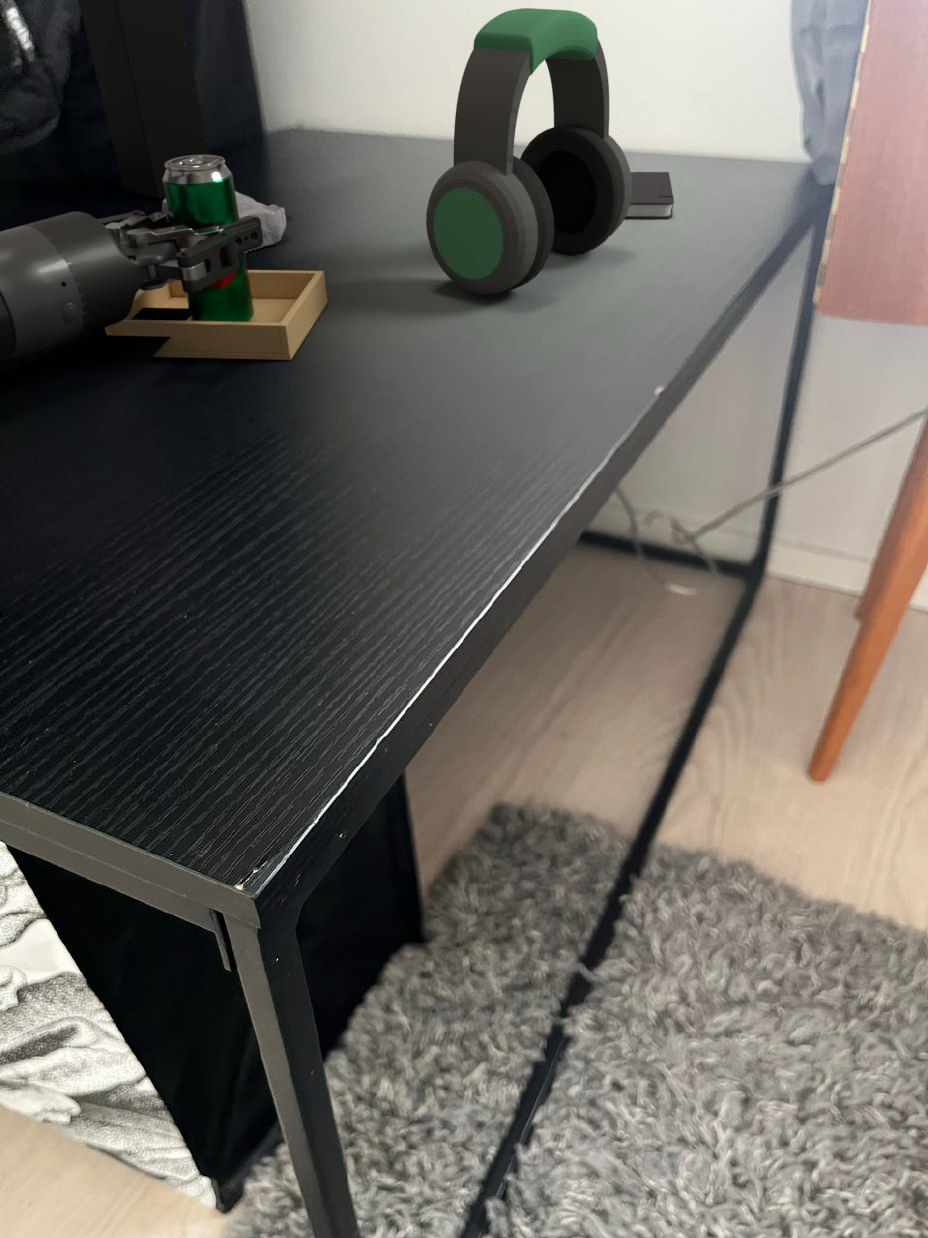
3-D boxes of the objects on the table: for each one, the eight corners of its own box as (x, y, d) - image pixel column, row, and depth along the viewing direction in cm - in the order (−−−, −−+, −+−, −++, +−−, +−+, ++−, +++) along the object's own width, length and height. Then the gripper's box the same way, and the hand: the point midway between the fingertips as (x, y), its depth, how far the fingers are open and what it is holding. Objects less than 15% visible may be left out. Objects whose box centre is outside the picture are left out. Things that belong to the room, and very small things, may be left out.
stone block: (241, 233, 102) (155, 233, 96) (242, 185, 100) (154, 183, 94) (302, 261, 96) (213, 264, 89) (305, 211, 93) (214, 210, 87)
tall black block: (158, 200, 108) (91, -108, 90) (121, 189, 112) (51, -107, 94) (215, 186, 112) (162, -111, 95) (178, 176, 116) (120, -110, 99)
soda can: (268, 318, 76) (244, 157, 69) (223, 338, 73) (193, 172, 66) (224, 307, 79) (195, 150, 71) (178, 326, 75) (144, 164, 68)
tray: (112, 356, 72) (102, 321, 71) (168, 299, 82) (161, 268, 80) (290, 360, 71) (285, 325, 69) (327, 302, 80) (324, 270, 79)
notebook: (667, 186, 107) (481, 185, 109) (669, 171, 106) (481, 171, 108) (673, 218, 97) (468, 217, 99) (674, 202, 96) (468, 201, 98)
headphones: (522, 314, 77) (526, 28, 64) (419, 289, 82) (404, 20, 70) (635, 252, 89) (657, 0, 76) (539, 234, 94) (545, -5, 81)
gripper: (92, 245, 57) (292, 184, 67) (-36, 210, 64) (163, 160, 74) (123, 363, 62) (305, 289, 72) (0, 319, 68) (183, 257, 79)
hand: (232, 224), depth 73 cm, fingers closed on soda can, 5 cm apart
